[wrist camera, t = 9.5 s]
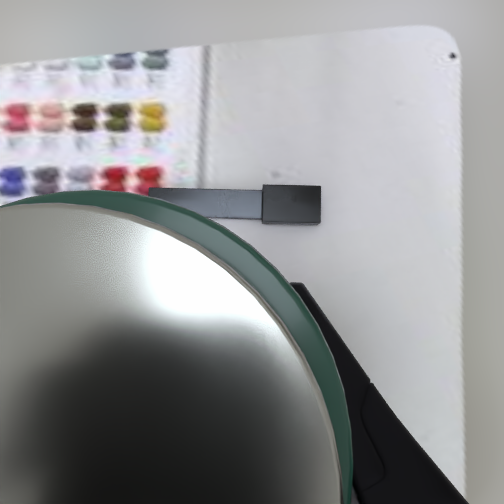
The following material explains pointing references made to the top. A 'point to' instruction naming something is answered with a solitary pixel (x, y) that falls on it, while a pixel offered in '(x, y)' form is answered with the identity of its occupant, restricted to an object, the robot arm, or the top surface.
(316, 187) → the nail file
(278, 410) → the tin
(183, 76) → the top surface
